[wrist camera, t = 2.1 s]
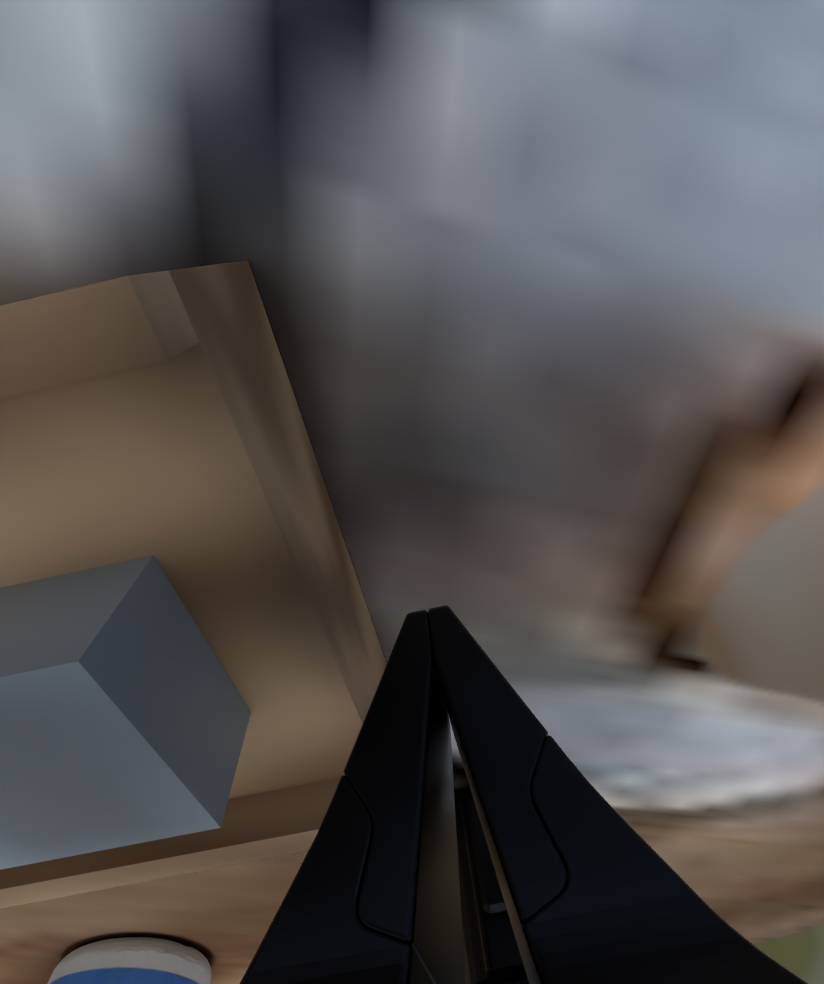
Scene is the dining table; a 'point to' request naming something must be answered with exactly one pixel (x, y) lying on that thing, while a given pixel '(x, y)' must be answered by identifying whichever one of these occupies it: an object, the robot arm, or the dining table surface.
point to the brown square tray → (190, 535)
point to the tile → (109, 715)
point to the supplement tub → (133, 963)
